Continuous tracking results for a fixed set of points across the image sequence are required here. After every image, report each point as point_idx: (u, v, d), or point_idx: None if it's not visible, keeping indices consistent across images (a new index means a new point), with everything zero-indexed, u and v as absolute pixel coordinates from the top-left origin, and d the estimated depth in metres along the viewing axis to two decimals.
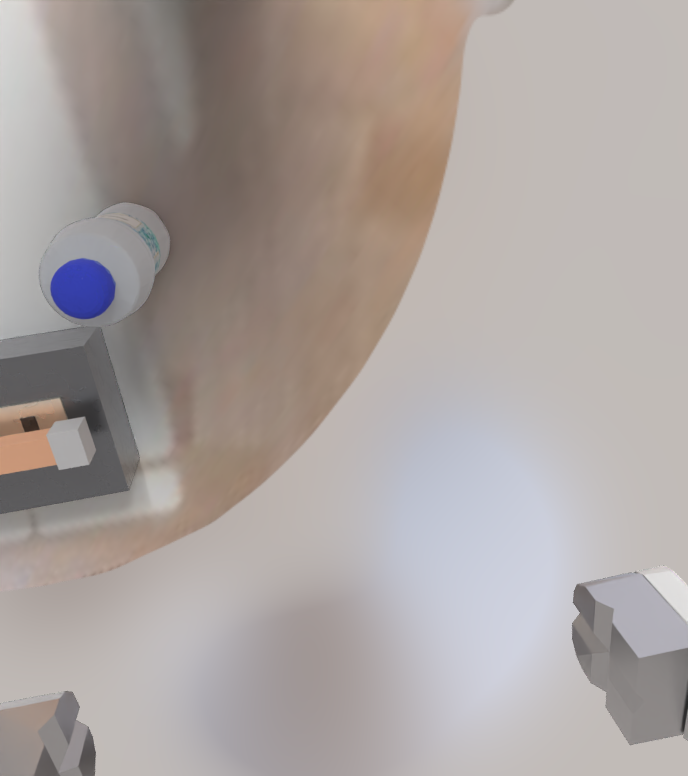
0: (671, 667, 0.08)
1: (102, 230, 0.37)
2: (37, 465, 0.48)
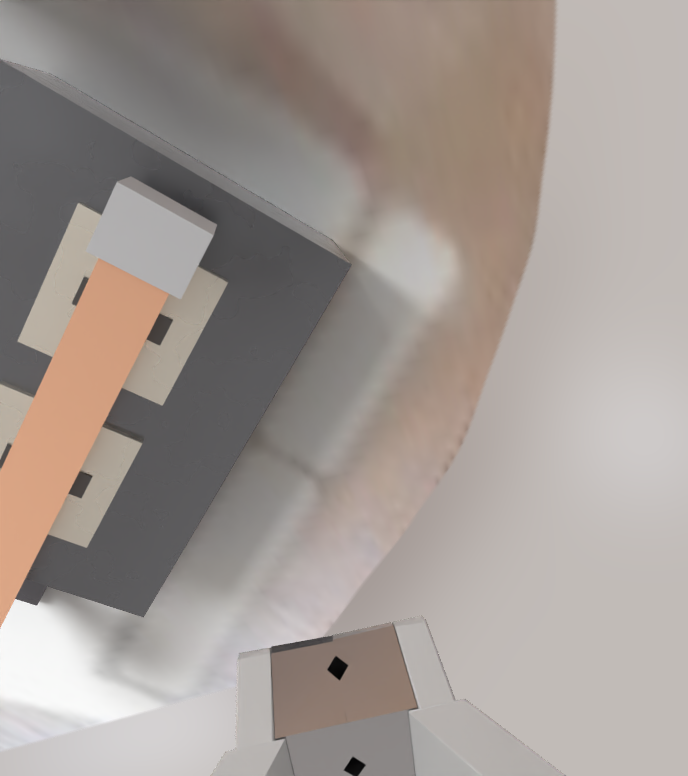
0: (387, 731, 0.08)
1: None
2: (143, 328, 0.20)
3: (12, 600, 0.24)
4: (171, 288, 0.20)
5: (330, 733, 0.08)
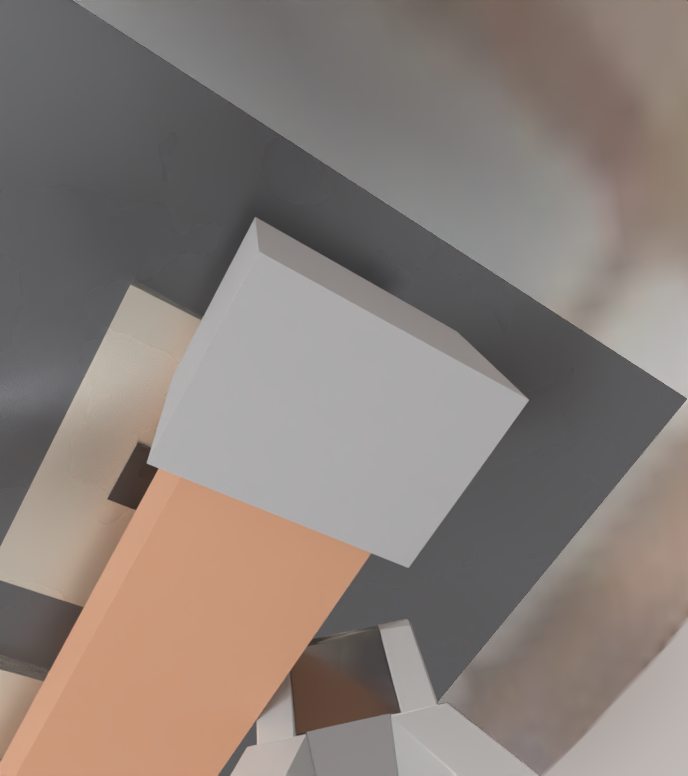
0: (369, 734, 0.08)
1: None
2: (295, 632, 0.07)
3: None
4: (387, 542, 0.07)
5: (352, 728, 0.08)
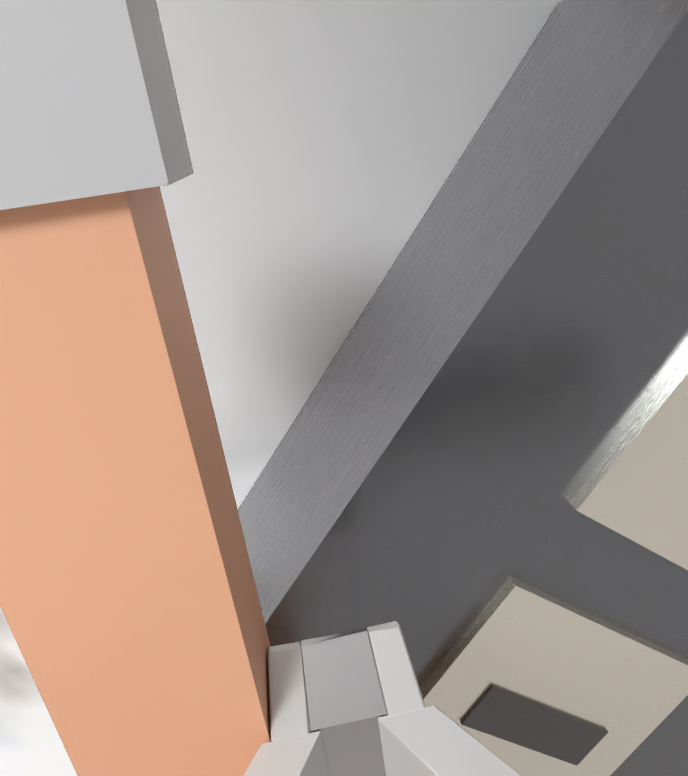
0: (356, 737, 0.08)
1: None
2: (143, 361, 0.06)
3: None
4: (112, 167, 0.05)
5: (366, 726, 0.08)
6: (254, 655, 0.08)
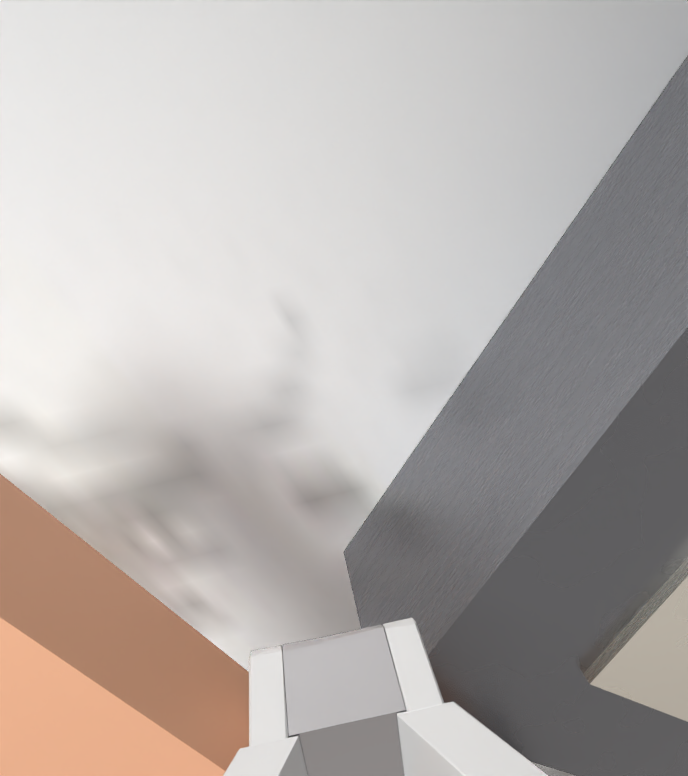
0: (375, 733, 0.08)
1: None
2: None
3: None
4: None
5: (344, 730, 0.08)
6: (159, 695, 0.08)
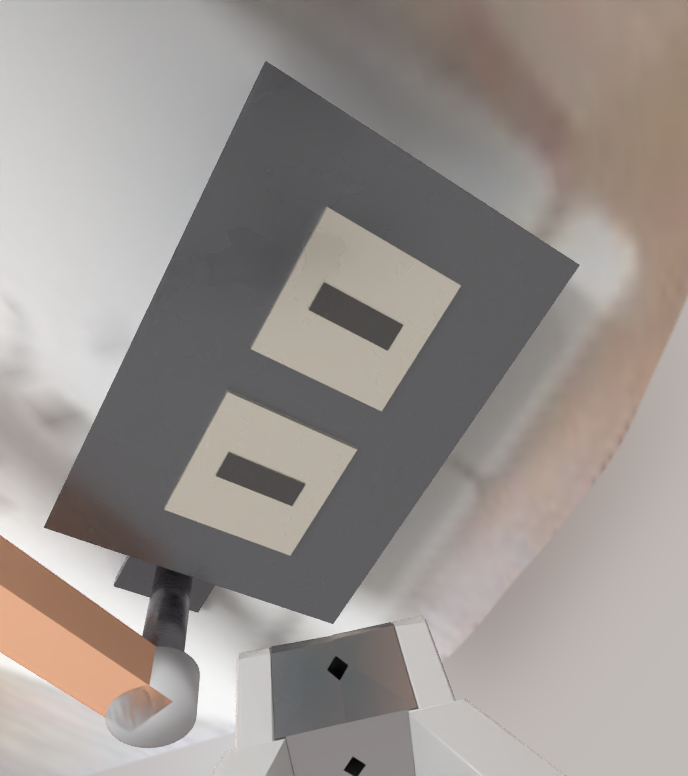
0: (387, 731, 0.08)
1: None
2: None
3: (44, 616, 0.22)
4: None
5: (330, 733, 0.08)
6: None
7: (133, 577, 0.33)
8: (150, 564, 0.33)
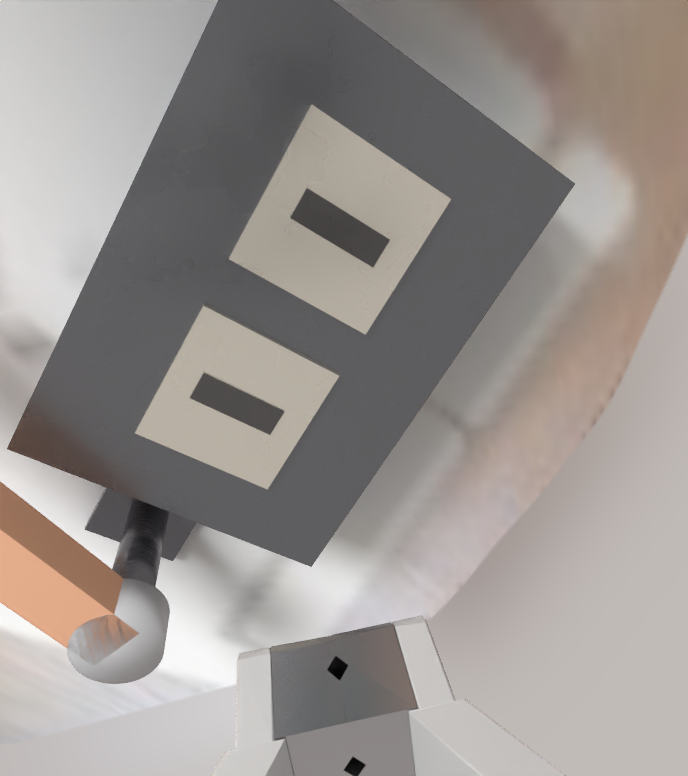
0: (387, 731, 0.08)
1: None
2: None
3: (2, 532, 0.21)
4: None
5: (331, 732, 0.08)
6: None
7: (105, 520, 0.32)
8: (123, 507, 0.32)
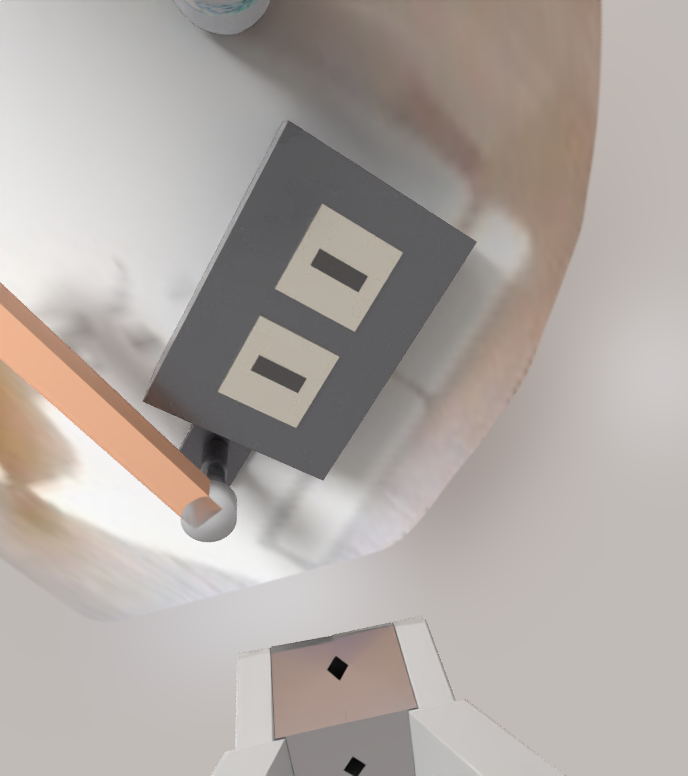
0: (387, 731, 0.08)
1: None
2: None
3: (151, 444, 0.37)
4: None
5: (331, 733, 0.08)
6: (47, 342, 0.34)
7: (186, 457, 0.48)
8: (198, 448, 0.48)
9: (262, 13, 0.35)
